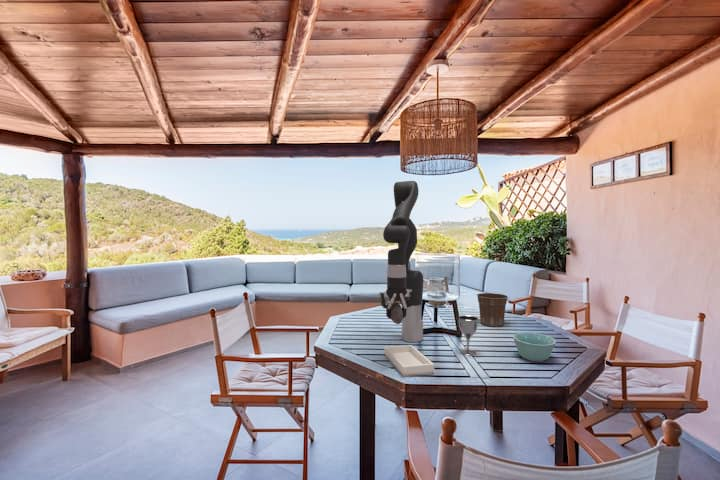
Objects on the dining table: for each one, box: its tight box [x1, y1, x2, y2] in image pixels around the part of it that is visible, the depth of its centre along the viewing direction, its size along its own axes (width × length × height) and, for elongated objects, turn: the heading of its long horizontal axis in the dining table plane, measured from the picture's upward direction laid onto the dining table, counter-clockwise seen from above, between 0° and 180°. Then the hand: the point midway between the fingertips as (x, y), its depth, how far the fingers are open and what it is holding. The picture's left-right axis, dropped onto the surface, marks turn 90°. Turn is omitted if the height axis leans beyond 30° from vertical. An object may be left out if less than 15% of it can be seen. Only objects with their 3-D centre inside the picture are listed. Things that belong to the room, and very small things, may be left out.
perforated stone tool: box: [390, 301, 403, 325], centre depth 139 cm, size 15×5×7 cm, turn 2°
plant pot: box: [476, 292, 509, 328], centre depth 195 cm, size 16×16×16 cm
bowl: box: [512, 332, 557, 363], centre depth 144 cm, size 16×16×8 cm
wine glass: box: [458, 315, 479, 356], centre depth 150 cm, size 8×8×15 cm
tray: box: [384, 344, 435, 378], centre depth 137 cm, size 12×22×4 cm, turn 14°
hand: (396, 317), depth 140 cm, fingers closed on perforated stone tool, 5 cm apart
